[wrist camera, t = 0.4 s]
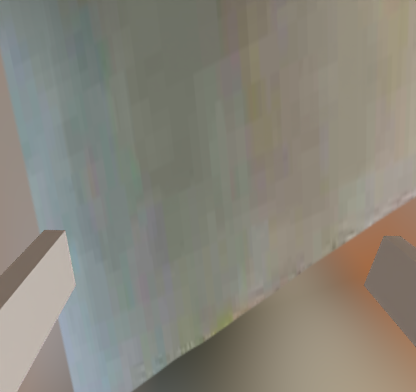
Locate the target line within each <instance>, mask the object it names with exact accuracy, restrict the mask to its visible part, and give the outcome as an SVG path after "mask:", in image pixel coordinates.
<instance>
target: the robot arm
mask: <svg viewBox="0 0 416 392" xmlns="http://www.w3.org/2000/svg"><path fill="white" fill-rule="evenodd" d="M75 286H76V284H75V279H74V273H73V268H72V263H71V258H70V253H69V248H68V242H67V237H66V232H65V230H44V231H43V232H42V233H41V234H40V235H39V236H38V237H37V238H36V240H34V241H33V243H32V244H31V245H30V246H29V247H28V248H27V249H26V250H25V251H24V252H23V253H22V254H21V255H20V256H19V257H18V258H17V259H16V260H15V261H14V262H13V263H12V264H11V266H9V267H8V269H7V270H6V271H5V272H4V273H3V274H2V275H1V276H0V392H17V391H18V389H19V387H20V385H21V383H22V382H23V380H24V378H25V376H26V374H27V373H28V371H29V369H30V367H31V365H32V363H33V362H34V360H35V358H36V356H37V355H38V353H39V351H40V349H41V347H42V345H43V343H44V342H45V340H46V338H47V336H48V335H49V333H50V331H51V329H52V327H53V326H54V324H55V322H56V320H57V318H58V317H59V315H60V313H61V311H62V309H63V307H64V306H65V304H66V302H67V300H68V298H69V297H70V295H71V293H72V291H73V289H74V288H75ZM364 286H365V287H366V288H367V290H368V291H369V292H370V293H371V294H372V295H373V297H374V298H375V299H376V300H377V301H378V303H379V304H380V305H381V306H382V307H383V308H384V310H385V311H386V312H387V313H388V314H389V316H390V317H391V318H392V319H393V320H394V322H395V323H396V324H397V325H398V326H399V327H400V329H401V330H402V331H403V332H404V333H405V335H406V336H407V337H408V338H409V339H410V341H411V342H412V343H413V344H414V345H415V346H416V248H415V247H414V246H412V245H411V244H410V243H409V242H407V241H406V240H405V239H403V238H402V237H401V236H384V237H383V239H382V242H381V244H380V247H379V249H378V252H377V254H376V257H375V259H374V262H373V264H372V267H371V269H370V272H369V274H368V277H367V279H366V282H365V284H364Z"/></svg>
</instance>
